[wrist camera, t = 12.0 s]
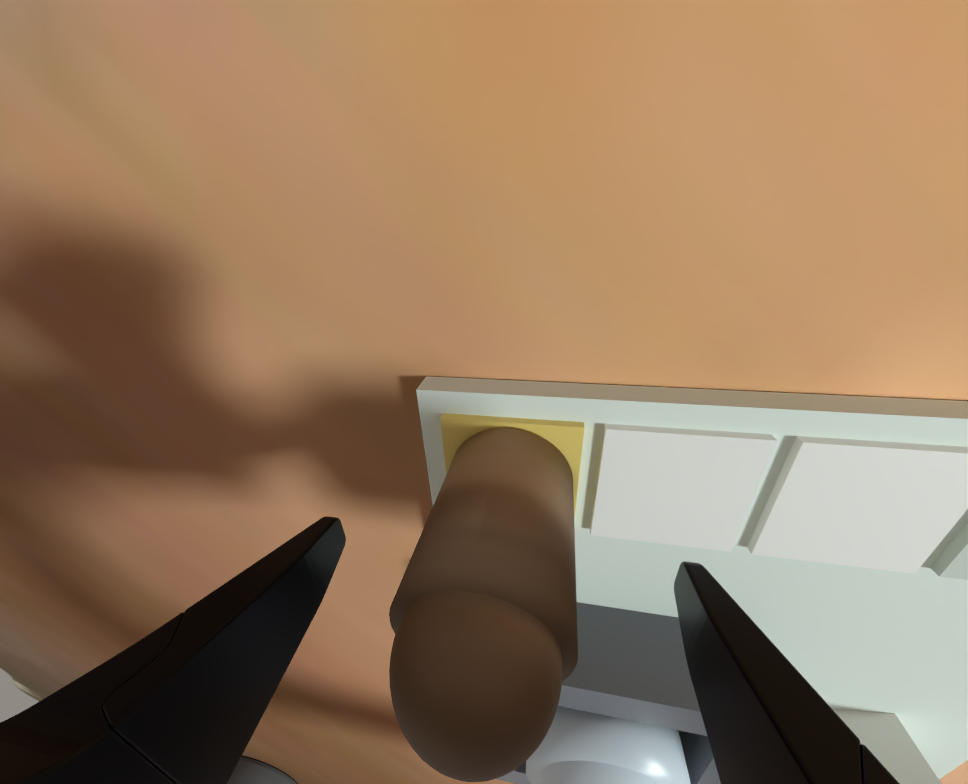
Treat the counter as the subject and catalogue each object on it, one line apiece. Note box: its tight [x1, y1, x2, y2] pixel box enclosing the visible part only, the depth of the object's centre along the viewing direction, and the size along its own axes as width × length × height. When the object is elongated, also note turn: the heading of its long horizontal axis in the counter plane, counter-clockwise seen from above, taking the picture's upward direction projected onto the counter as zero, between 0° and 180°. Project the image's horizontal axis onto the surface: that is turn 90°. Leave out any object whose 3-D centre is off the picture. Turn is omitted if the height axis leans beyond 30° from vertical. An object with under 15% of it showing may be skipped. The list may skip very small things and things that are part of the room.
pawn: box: [389, 428, 578, 782], centre depth 9 cm, size 4×4×7 cm
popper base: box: [496, 602, 721, 784], centre depth 15 cm, size 10×10×3 cm
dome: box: [526, 706, 691, 784], centre depth 14 cm, size 6×6×5 cm
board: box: [416, 376, 968, 779], centre depth 14 cm, size 20×22×1 cm
